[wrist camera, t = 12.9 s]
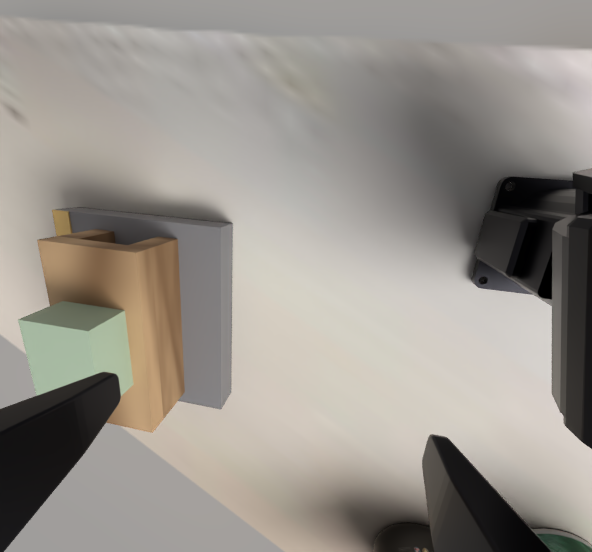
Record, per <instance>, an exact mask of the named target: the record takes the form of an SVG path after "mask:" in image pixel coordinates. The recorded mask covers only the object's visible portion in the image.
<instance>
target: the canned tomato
mask: <svg viewBox="0 0 592 552" xmlns="http://www.w3.org/2000/svg"><path fill="white" fill-rule="evenodd" d="M532 530H533V531H534V533H535V534H536V535H537V536H538V537H539V538H540V539H541V540H542V541H543V542H544V543H545V545H546V546H547V547H548V548H549V549H550V550H551V551H552V552H592V545H590V544H589V543H588V542H587V541H585V540H583V539H582V538H580V537H578V536H576V535H573V534H570V533H568V532H564V531H560V530H554V529H532Z"/></svg>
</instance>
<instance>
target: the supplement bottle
mask: <svg viewBox="0 0 592 552" xmlns="http://www.w3.org/2000/svg"><path fill="white" fill-rule="evenodd" d="M373 552H435V551H434V546H433V541H432V536H431V530H430V528H429V527H426V526H423V525H420V524H414V523H400V524H395V525H392V526H389V527H387V528H385V529H384V530H383V531H381V532H380V533H379V535H378V536H377V538H376V540H375V542H374V546H373Z"/></svg>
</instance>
